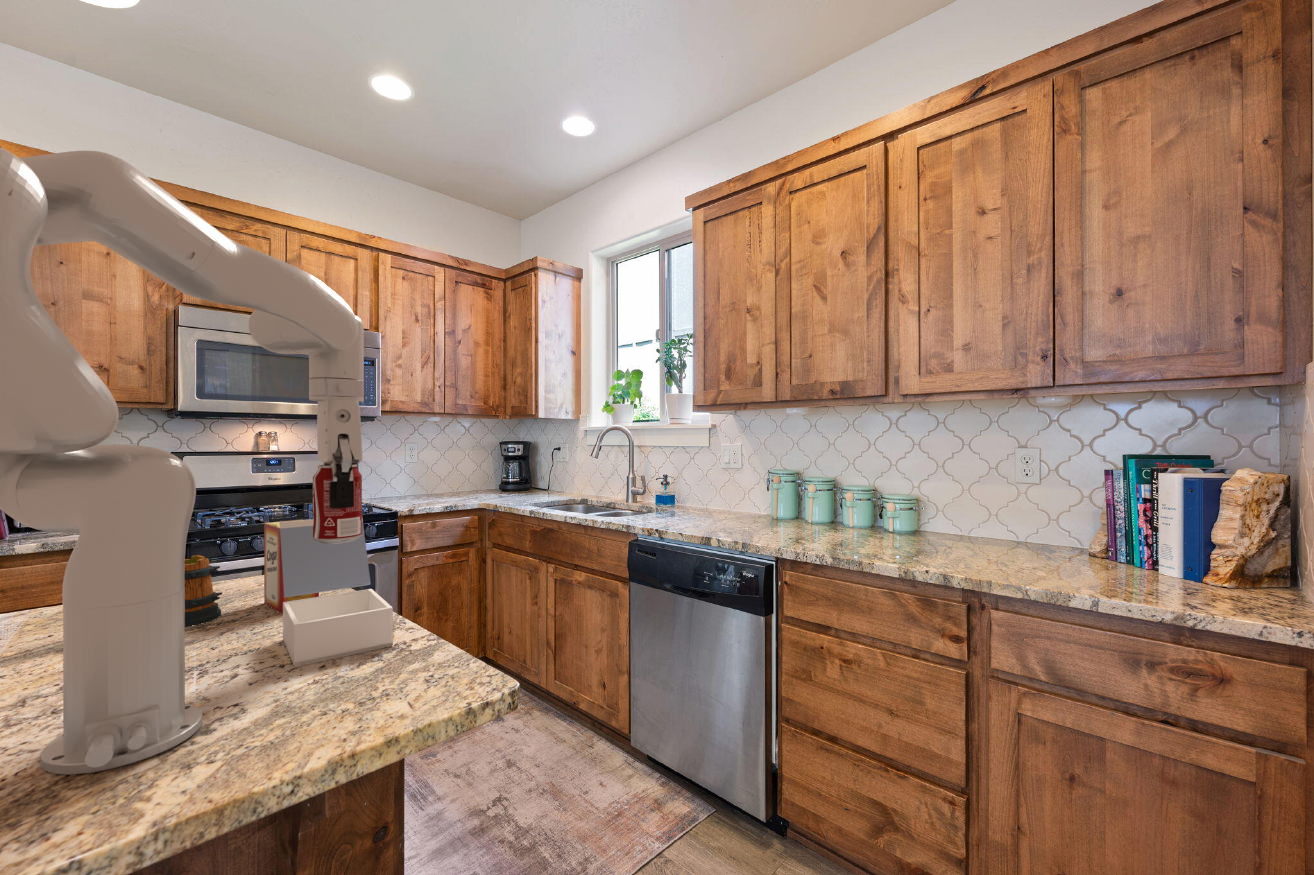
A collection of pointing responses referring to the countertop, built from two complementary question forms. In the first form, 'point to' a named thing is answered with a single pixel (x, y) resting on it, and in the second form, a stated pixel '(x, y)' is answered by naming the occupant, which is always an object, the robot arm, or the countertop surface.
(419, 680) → the countertop surface
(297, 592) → the lid
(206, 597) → the mug
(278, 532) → the baking soda box
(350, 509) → the soda can
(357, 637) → the white open box
